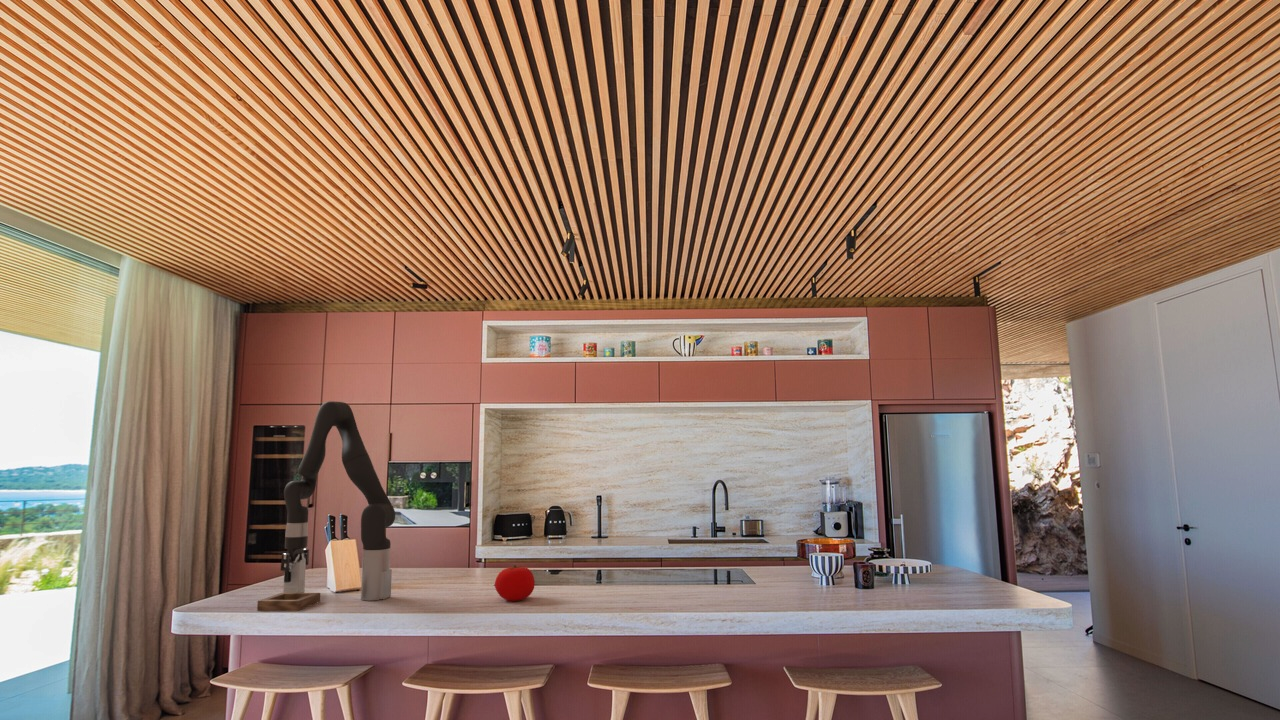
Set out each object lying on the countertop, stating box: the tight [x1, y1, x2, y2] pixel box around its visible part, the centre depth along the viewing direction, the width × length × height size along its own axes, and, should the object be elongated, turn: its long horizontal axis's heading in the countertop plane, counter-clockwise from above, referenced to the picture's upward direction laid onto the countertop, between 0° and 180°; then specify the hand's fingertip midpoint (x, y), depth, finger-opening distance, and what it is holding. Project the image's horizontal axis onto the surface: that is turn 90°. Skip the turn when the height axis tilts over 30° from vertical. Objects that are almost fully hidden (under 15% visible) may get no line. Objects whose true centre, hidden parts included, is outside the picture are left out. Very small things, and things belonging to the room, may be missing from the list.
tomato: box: [494, 564, 536, 602], centre depth 246 cm, size 13×14×12 cm
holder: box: [256, 592, 321, 612], centre depth 239 cm, size 14×14×3 cm
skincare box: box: [282, 560, 307, 593], centre depth 258 cm, size 6×4×12 cm
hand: (294, 580), depth 258 cm, fingers open, 8 cm apart
